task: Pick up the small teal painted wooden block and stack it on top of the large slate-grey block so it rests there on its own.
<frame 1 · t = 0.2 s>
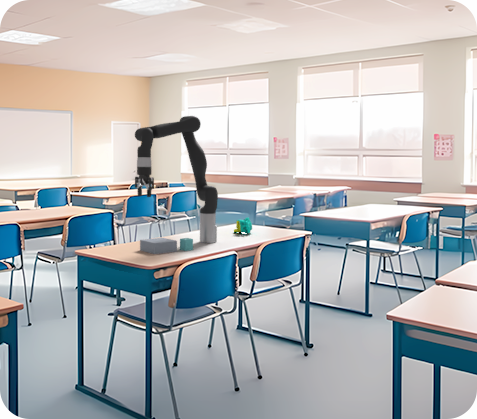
hand: (144, 196, 285), 29 cm above the table, fingers open, 8 cm apart
teal lumpy shape: (244, 234, 356), on the table
slate block: (158, 251, 285), on the table
teal block: (186, 249, 290), on the table
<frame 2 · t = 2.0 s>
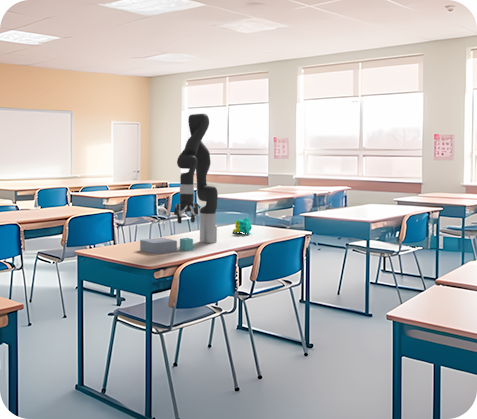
hand: (186, 222, 289), 15 cm above the table, fingers open, 8 cm apart
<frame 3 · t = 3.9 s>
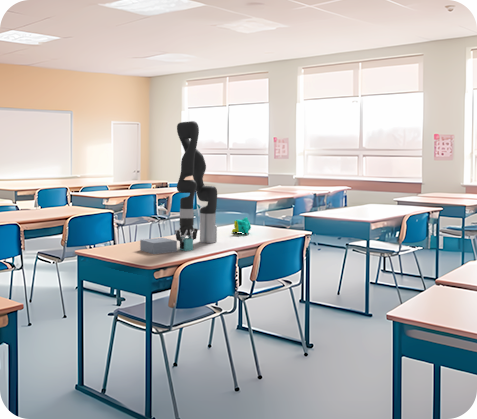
hand: (186, 247, 290), 1 cm above the table, fingers closed on teal block, 5 cm apart
teal block: (186, 249, 290), on the table, touching gripper
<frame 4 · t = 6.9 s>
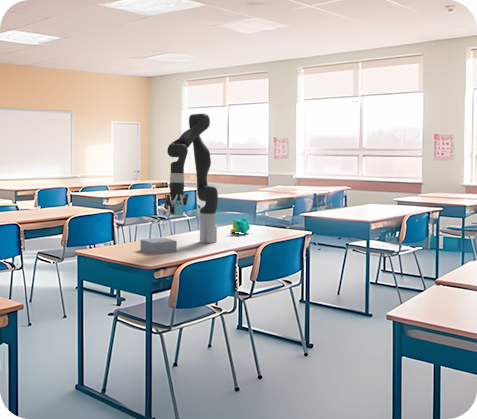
hand: (176, 213, 286), 20 cm above the table, fingers closed on teal block, 5 cm apart
teal block: (176, 215, 286), point 19 cm above the table, touching gripper
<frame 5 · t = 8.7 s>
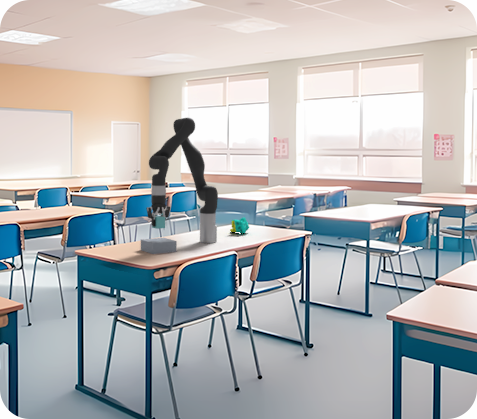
hand: (158, 226, 284), 13 cm above the table, fingers closed on teal block, 5 cm apart
teal block: (158, 227, 284), point 12 cm above the table, touching gripper
when the fingers open (8 cm above the table, at t = 10.0 s): teal block drops 2 cm, resting on slate block.
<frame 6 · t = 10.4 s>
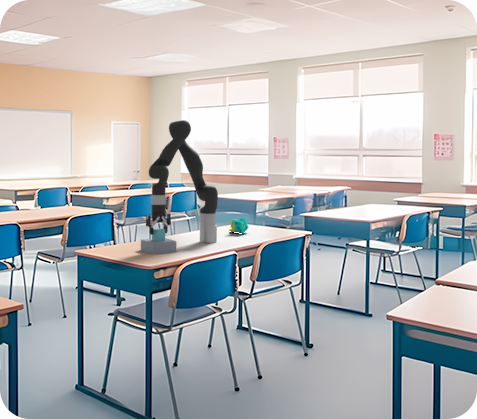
hand: (158, 233, 284), 9 cm above the table, fingers open, 8 cm apart
slate block: (158, 251, 285), on the table, touching teal block
teal block: (158, 240, 285), point 6 cm above the table, touching slate block
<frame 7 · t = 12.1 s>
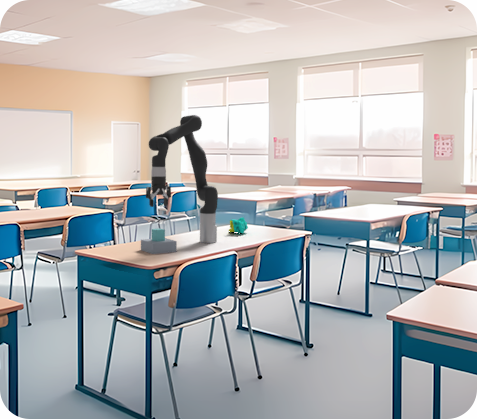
hand: (158, 206, 283), 24 cm above the table, fingers open, 8 cm apart
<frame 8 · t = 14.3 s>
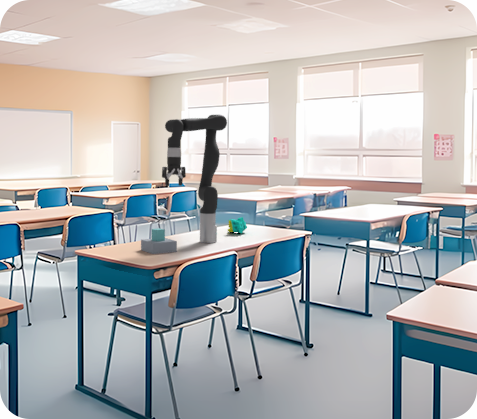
hand: (173, 185, 296), 34 cm above the table, fingers open, 8 cm apart
at the end: teal block inside the target area on the slate block (0.3 cm from its centre), point 6.0 cm above the slate block's base; teal block touching slate block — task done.
